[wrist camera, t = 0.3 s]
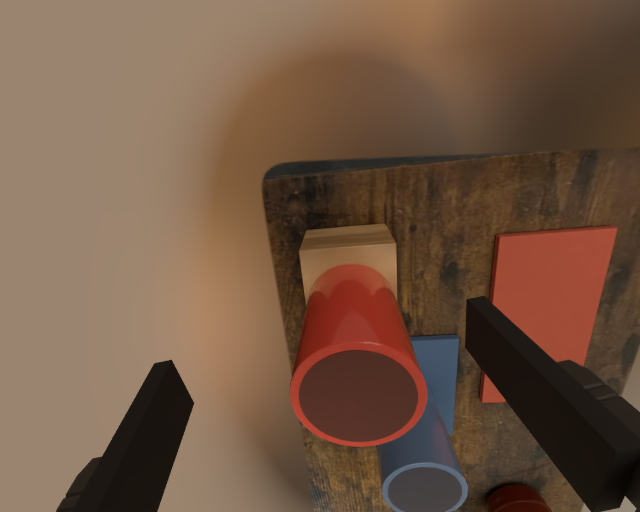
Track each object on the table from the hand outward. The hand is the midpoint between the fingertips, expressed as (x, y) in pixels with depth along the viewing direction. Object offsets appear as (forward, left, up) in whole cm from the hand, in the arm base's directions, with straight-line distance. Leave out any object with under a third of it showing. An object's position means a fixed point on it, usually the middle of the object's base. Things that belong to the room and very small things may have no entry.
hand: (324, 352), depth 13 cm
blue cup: (+20, +6, -16) cm, 27 cm away
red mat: (+11, +20, -17) cm, 29 cm away
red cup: (+4, +1, -11) cm, 12 cm away
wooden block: (+4, +1, -17) cm, 18 cm away
